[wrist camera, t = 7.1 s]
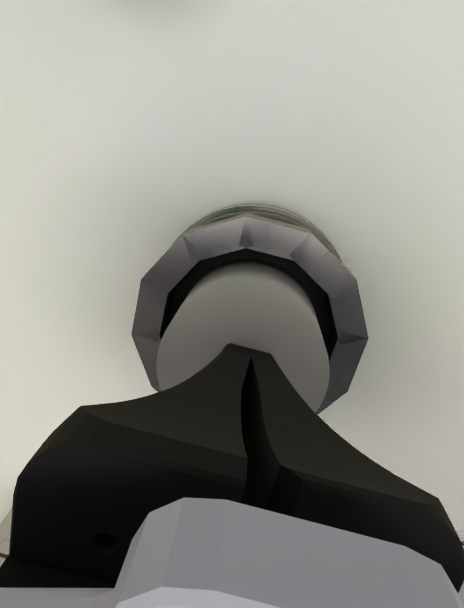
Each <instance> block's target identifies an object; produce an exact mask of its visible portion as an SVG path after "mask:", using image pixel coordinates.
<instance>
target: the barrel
mask: <svg viewBox="0 0 464 608" xmlns="http://www.w3.org/2000/svg"><path fill="white" fill-rule="evenodd" d="M238 258H258V259H263V260H267V261H270V262H273V263H276V264H278V265H280V266H282V267H284V268H285V269H287V270H288V271H290V272H291V273H292V274H293V275H294V276H296V277H297V278H298V279H299V281H300V282H301V283H302V284H303V285H304V287H305V289H306V290H307V292H308V294H309V296H310V298H311V301H312V304H313V307H314V310H315V314H316V317H317V320H318V324H319V327H320V330H321V334H322V337H323V341H324V344H325V347H326V351H327V354H328V359H329V366H330V377H329V383H328V388H327V391H326V395H325V397H324V399H323V401H322V404H321V406H320V407H319V409H318V410H317V412H316V414H317V415H318V414H319V413H320V412H322V411H323V410H324V409H325V408H327V407H328V406H329V405H331V404H332V403H333V402H334V401H336V400H337V399H338V398H340V397H341V396H342V395H343V394H345V393H346V392H347V391H348V389H349V386H350V384H351V381H352V379H353V376H354V374H355V371H356V369H357V366H358V363H359V361H360V358H361V356H362V353H363V351H364V348H365V346H366V343H367V341H368V334H367V329H366V324H365V319H364V314H363V310H362V305H361V300H360V295H359V290H358V285H357V280H356V279H355V277H354V276H353V274H352V273H351V272H350V271H349V270H348V269H347V268H346V267H345V266H344V265H343V263H342V261H341V259H340V257H339V255H338V254H337V252H336V250H335V249H334V247H333V246H332V244H331V243H330V242H329V241H328V240H327V238H326V237H325V236H324V235H323V234H322V233H321V232H320V231H319V230H318V229H317V228H316V227H315V226H314V225H312V224H311V223H309V222H308V221H306V220H305V219H303V218H302V217H300V216H298V215H296V214H294V213H292V212H290V211H287V210H284V209H281V208H278V207H273V206H267V205H257V204H247V205H237V206H232V207H227V208H224V209H221V210H218V211H216V212H213V213H211V214H209V215H207V216H205V217H203V218H201V219H200V220H199V221H197V222H196V223H194V224H193V225H192V226H190V227H189V228H188V229H187V230H186V231H185V232H184V233H183V234H182V235H181V236H180V237H179V238H178V239H177V240H176V241H175V243H174V244H173V245H172V246H171V247H170V249H169V250H168V251H167V252H166V253H165V254H164V255H163V256H162V257H161V258H160V259H159V261H158V262H157V263H156V264H155V265H154V266H153V267H152V268H151V269H150V270H149V271H148V273H147V274H146V275H145V276H144V277H143V278H142V279H141V284H140V290H139V295H138V301H137V307H136V313H135V318H134V324H133V330H132V337H133V340H134V343H135V345H136V348H137V350H138V353H139V355H140V358H141V360H142V363H143V366H144V368H145V371H146V373H147V376H148V378H149V381H150V383H151V386H152V387H153V388H154V389H155V390H157V391H158V392H161V389H160V386H159V382H158V377H157V368H156V360H157V353H158V348H159V345H160V342H161V339H162V337H163V335H164V333H165V331H166V329H167V328H168V326H169V324H170V323H171V321H172V319H173V318H174V316H175V315H176V313H177V311H178V310H179V308H180V306H181V305H182V303H183V302H184V300H185V298H186V297H187V295H188V293H189V292H190V290H191V289H192V287H193V286H194V284H195V283H196V281H197V280H198V279H199V278H200V277H201V276H202V275H203V274H204V273H205V272H207V271H208V270H210V269H211V268H213V267H214V266H216V265H218V264H220V263H222V262H226V261H229V260H232V259H238Z"/></svg>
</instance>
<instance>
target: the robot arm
mask: <svg viewBox="0 0 464 608" xmlns="http://www.w3.org/2000/svg"><path fill="white" fill-rule="evenodd" d="M0 608H464V545H462V543H461V541H460V539H459V537H458V535H457V533H456V531H455V529H454V527H453V525H452V523H451V521H450V519H449V517H448V515H447V513H446V511H445V509H444V507H443V506H442V504H441V502H440V500H439V499H438V498H437V497H435V496H433V495H431V494H429V493H427V492H425V491H424V490H422V489H420V488H418V487H416V486H414V485H413V484H411V483H409V482H407V481H405V480H403V479H401V478H400V477H398V476H396V475H394V474H393V473H391V472H390V471H388V470H386V469H385V468H383V467H382V466H380V465H379V464H377V463H376V462H374V461H372V460H371V459H369V458H368V457H367V456H365V455H364V454H362V453H361V452H360V451H358V450H357V449H356V448H354V447H353V446H352V445H351V444H349V443H348V442H347V441H345V440H344V439H343V438H342V437H340V436H339V435H338V434H337V433H336V432H335V431H333V430H332V429H331V428H330V427H329V426H328V425H327V424H326V423H325V422H324V421H323V420H322V419H321V418H320V417H319V416H318V415H317V414H316V413H315V412H314V411H313V410H312V409H311V408H310V407H309V406H308V404H307V403H306V402H305V401H304V400H303V398H302V397H301V396H300V395H299V394H298V392H297V391H296V390H295V388H294V387H293V386H292V384H291V383H290V382H289V380H288V379H287V377H286V376H285V374H284V373H283V371H282V370H281V368H280V367H279V365H278V364H277V362H276V360H275V359H274V357H273V356H272V355H271V354H270V353H267V352H263V351H259V350H255V349H251V348H247V347H243V346H240V345H236V344H232V343H229V344H227V345H225V347H224V349H223V350H222V351H221V352H220V353H219V354H218V355H217V356H216V357H215V358H214V359H213V360H212V361H211V362H210V363H209V364H207V365H206V366H205V367H204V368H203V369H201V370H200V371H198V372H197V373H195V374H194V375H193V376H191V377H190V378H188V379H186V380H185V381H183V382H181V383H180V384H178V385H176V386H174V387H172V388H169V389H166V390H163V391H161V392H158V393H155V394H152V395H149V396H146V397H142V398H138V399H133V400H128V401H123V402H117V403H108V404H98V405H87V406H80V407H79V408H78V409H77V410H76V411H75V412H73V413H72V414H71V415H70V416H69V417H68V418H67V419H66V420H65V421H64V422H63V423H62V424H61V425H60V426H59V427H58V428H57V429H55V430H54V431H53V433H52V434H51V435H50V436H49V437H48V438H47V439H46V441H45V442H44V443H43V444H42V446H41V447H40V448H39V449H38V451H37V452H36V453H35V454H34V456H33V457H32V458H31V460H30V461H29V462H28V463H27V465H26V466H25V468H24V469H23V471H22V472H21V474H20V475H19V476H18V479H17V483H16V487H15V490H14V494H13V507H12V520H11V533H10V546H9V555H8V556H7V558H6V559H5V561H4V562H3V564H2V565H1V567H0Z"/></svg>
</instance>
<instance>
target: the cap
mask: <svg viewBox="0 0 464 608" xmlns="http://www.w3.org/2000/svg"><path fill="white" fill-rule="evenodd" d="M229 343H232V344H236V345H240V346H243V347H247V348H251V349H255V350H259V351H263V352H267V353H270V354H271V355H272V356H273V357H274V359H275V360H276V362H277V364H278V365H279V367H280V368H281V370H282V371H283V373H284V374H285V376H286V377H287V379H288V380H289V382H290V383H291V384H292V386H293V387H294V388H295V390H296V391H297V392H298V394H299V395H300V396H301V397H302V398H303V400H304V401H305V402H306V403H307V404H308V406H309V407H310V408H311V409H312V410H313V411H314V412H315V413H316V412H317V410H318V409H319V407H320V406H321V404H322V401H323V399H324V397H325V395H326V391H327V388H328V383H329V377H330V366H329V359H328V354H327V351H326V347H325V344H324V341H323V337H322V334H321V330H320V327H319V324H318V320H317V317H316V314H315V310H314V307H313V304H312V301H311V298H310V296H309V294H308V292H307V290H306V289H305V287H304V285H303V284H302V283H301V282H300V281H299V279H298V278H297V277H296V276H294V275H293V274H292V273H291V272H290V271H288V270H287V269H285V268H284V267H282V266H280V265H278V264H276V263H273V262H270V261H267V260H263V259H258V258H238V259H232V260H229V261H226V262H222V263H220V264H218V265H216V266H214V267H213V268H211V269H210V270H208V271H207V272H205V273H204V274H203V275H202V276H201V277H200V278H199V279H198V280H197V281H196V283H195V284H194V286H193V287H192V289H191V290H190V292H189V293H188V295H187V297H186V298H185V300H184V302H183V303H182V305H181V306H180V308H179V310H178V311H177V313H176V315H175V316H174V318H173V319H172V321H171V323H170V324H169V326H168V328H167V329H166V331H165V333H164V335H163V337H162V339H161V342H160V345H159V348H158V353H157V360H156V368H157V377H158V382H159V386H160V389H161V391H163V390H166V389H169V388H172V387H174V386H176V385H178V384H180V383H181V382H183V381H185V380H186V379H188V378H190V377H191V376H193V375H194V374H195V373H197V372H198V371H200V370H201V369H203V368H204V367H205V366H206V365H207V364H209V363H210V362H211V361H212V360H213V359H214V358H215V357H216V356H217V355H218V354H219V353H220V352H221V351H222V350H223V349H224V347H225V345H227V344H229Z"/></svg>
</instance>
